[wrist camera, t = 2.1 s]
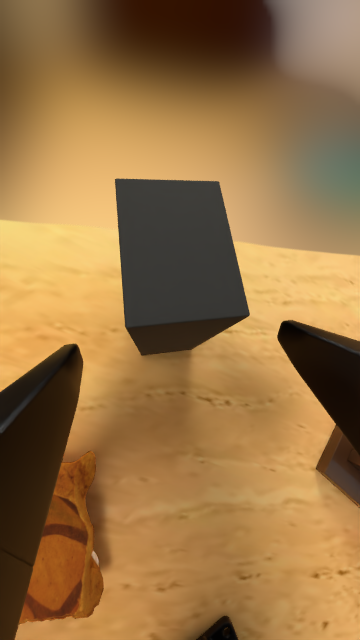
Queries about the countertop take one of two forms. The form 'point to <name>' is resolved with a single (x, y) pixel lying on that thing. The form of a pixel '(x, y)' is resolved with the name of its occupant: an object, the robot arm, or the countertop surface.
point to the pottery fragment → (66, 552)
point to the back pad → (176, 263)
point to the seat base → (341, 465)
